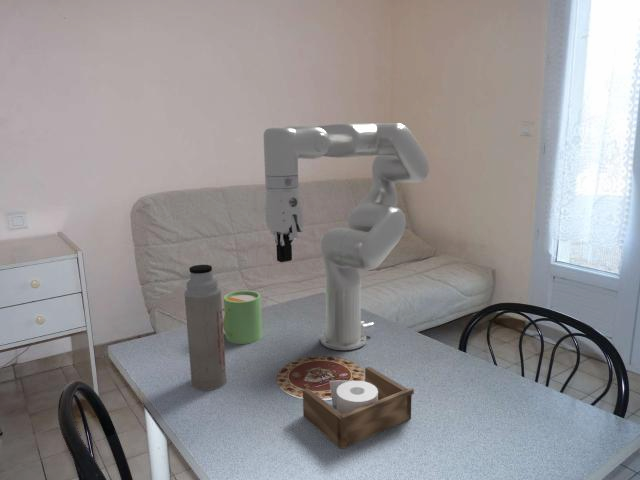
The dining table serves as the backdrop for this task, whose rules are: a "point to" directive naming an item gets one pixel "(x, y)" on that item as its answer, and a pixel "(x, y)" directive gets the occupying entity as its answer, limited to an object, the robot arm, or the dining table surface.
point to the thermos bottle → (205, 329)
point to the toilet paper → (352, 395)
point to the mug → (242, 317)
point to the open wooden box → (360, 411)
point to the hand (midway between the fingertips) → (284, 260)
